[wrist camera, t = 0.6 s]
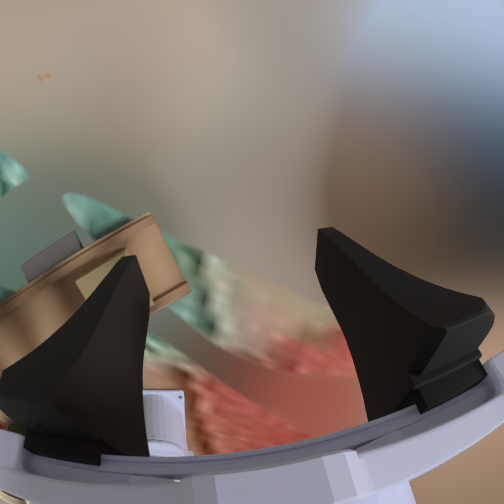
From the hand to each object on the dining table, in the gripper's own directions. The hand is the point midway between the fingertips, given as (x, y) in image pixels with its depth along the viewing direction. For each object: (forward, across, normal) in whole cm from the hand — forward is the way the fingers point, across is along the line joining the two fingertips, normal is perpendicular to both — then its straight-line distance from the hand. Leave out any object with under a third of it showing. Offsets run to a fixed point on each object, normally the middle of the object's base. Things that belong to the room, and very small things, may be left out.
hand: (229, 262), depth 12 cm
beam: (+12, +17, +12) cm, 24 cm away
